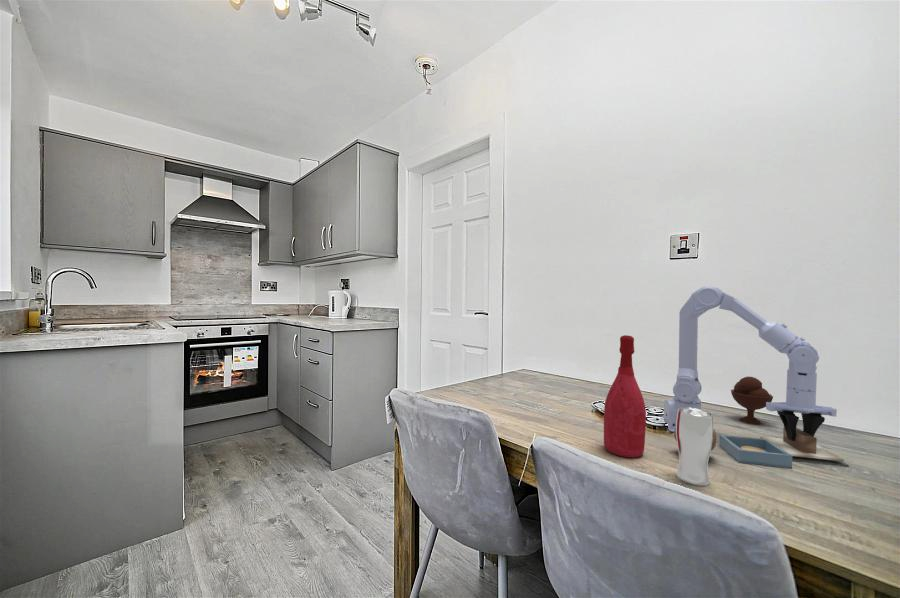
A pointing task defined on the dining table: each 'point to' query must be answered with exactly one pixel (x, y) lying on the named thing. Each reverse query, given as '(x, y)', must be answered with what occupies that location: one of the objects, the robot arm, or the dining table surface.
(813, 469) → the dining table surface
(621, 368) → the wine bottle
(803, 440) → the lid
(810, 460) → the mat
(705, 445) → the beer glass
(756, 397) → the ice cream bowl
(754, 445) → the dish
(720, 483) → the dining table surface
